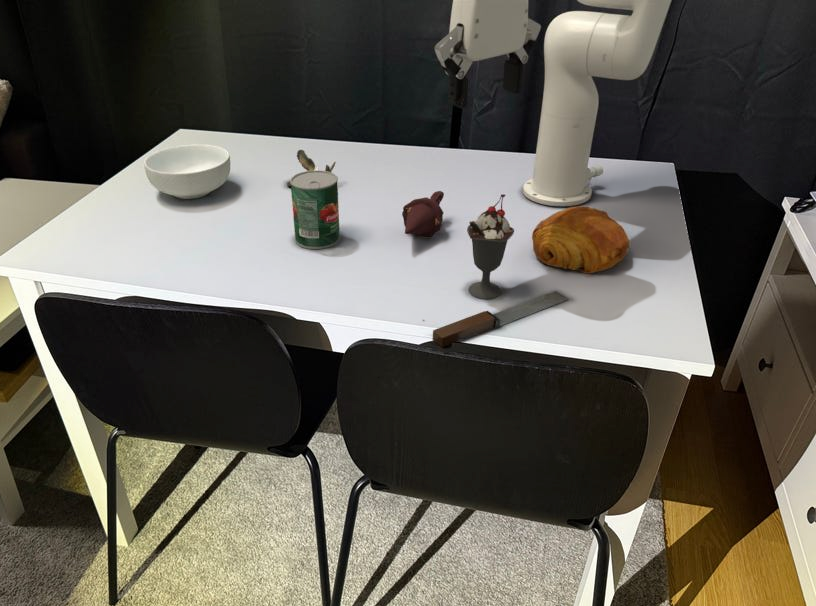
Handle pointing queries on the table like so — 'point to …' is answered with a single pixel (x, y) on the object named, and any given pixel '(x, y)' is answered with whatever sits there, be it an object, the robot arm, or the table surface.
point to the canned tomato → (315, 209)
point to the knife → (493, 319)
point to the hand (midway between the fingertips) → (484, 98)
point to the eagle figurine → (309, 163)
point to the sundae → (488, 248)
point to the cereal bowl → (188, 170)
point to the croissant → (580, 240)
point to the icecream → (424, 216)
